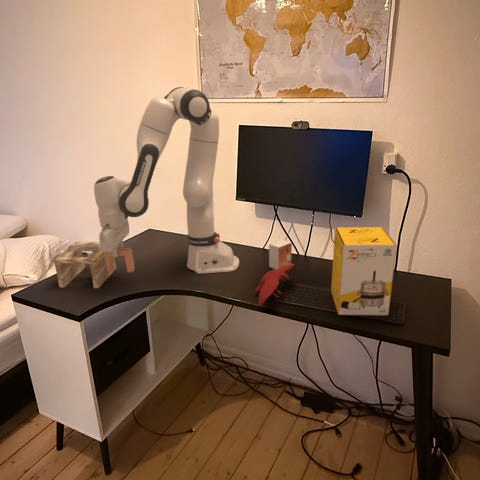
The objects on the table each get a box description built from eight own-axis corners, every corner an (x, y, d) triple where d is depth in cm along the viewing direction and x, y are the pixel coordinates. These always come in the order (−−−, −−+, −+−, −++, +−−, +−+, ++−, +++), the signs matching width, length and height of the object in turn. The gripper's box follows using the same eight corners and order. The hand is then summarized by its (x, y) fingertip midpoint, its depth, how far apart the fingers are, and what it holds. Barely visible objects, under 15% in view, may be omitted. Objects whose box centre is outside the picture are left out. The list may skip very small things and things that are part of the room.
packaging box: (376, 291, 148) (382, 227, 139) (388, 315, 133) (396, 244, 124) (331, 291, 149) (334, 227, 140) (338, 315, 134) (343, 245, 125)
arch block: (134, 268, 160) (131, 247, 157) (132, 272, 158) (128, 250, 154) (110, 269, 161) (106, 248, 158) (107, 272, 159) (103, 251, 155)
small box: (278, 271, 166) (278, 247, 163) (268, 267, 170) (268, 244, 166) (291, 265, 171) (292, 242, 167) (281, 261, 175) (282, 238, 171)
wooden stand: (116, 268, 174) (111, 237, 169) (98, 288, 157) (93, 255, 152) (80, 267, 175) (74, 237, 170) (59, 287, 159) (52, 254, 154)
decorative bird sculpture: (252, 324, 138) (281, 302, 130) (234, 304, 139) (261, 280, 131) (281, 288, 162) (307, 267, 154) (265, 271, 162) (290, 249, 154)
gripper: (109, 229, 142) (116, 265, 147) (129, 211, 161) (134, 243, 166) (92, 230, 143) (99, 265, 148) (114, 212, 162) (120, 244, 167)
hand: (118, 253), depth 157 cm, fingers closed on arch block, 3 cm apart
